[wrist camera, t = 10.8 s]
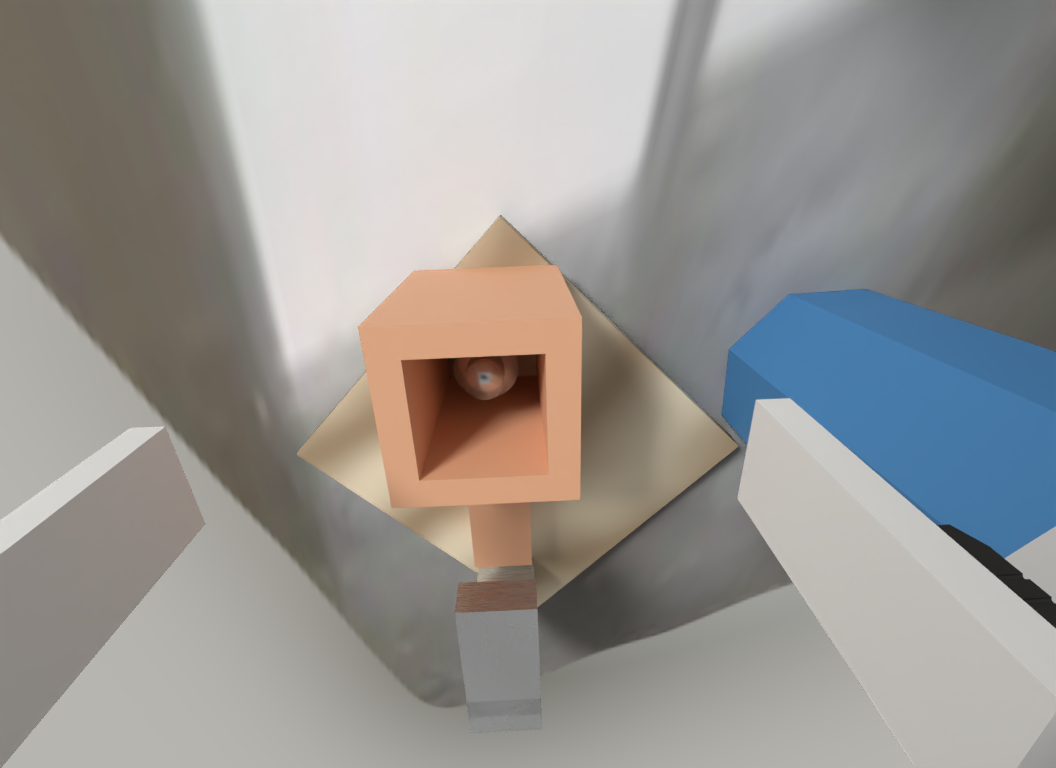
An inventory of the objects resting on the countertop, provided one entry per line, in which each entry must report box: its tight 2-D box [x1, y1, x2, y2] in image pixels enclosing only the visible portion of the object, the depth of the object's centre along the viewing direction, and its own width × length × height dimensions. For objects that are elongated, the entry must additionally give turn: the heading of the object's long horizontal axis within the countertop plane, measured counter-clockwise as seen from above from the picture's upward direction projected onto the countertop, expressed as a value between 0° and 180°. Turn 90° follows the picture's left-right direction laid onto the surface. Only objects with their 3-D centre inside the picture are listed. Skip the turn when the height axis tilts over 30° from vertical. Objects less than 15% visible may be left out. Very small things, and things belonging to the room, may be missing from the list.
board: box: [297, 215, 739, 607], centre depth 24 cm, size 16×15×1 cm
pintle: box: [453, 355, 519, 400], centre depth 19 cm, size 2×2×5 cm
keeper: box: [455, 558, 542, 733], centre depth 23 cm, size 7×3×9 cm, turn 2°
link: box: [358, 265, 582, 568], centre depth 19 cm, size 14×6×8 cm, turn 2°
